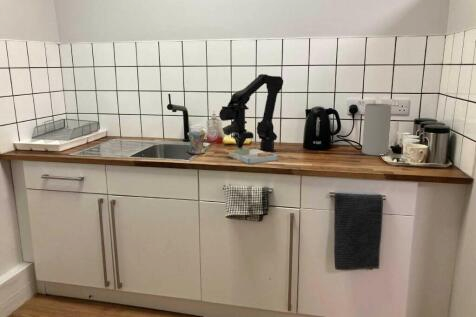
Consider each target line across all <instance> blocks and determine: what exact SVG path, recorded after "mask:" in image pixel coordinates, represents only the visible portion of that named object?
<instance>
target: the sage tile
mask: <svg viewBox="0 0 476 317" xmlns="http://www.w3.org/2000/svg"><path fill="white" fill-rule="evenodd" d="M250 150H251V149H250V148H248V147H246V146H244V147H243V146H242V147H241V148H237V147H236V148H235V151H236V153H237V154H240V155H243V154H250Z"/></svg>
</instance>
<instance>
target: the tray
mask: <svg viewBox="0 0 476 317" xmlns="http://www.w3.org/2000/svg"><path fill="white" fill-rule="evenodd" d="M267 153H270V154H272V156H266V157H257V158H246V157H244V156H241V155H239V160H238V161H240V162H242V163H245V164H247V165H254V164H261V163H269V162H275V161H278V158H279V155H278V154H275V153H272V152H267Z"/></svg>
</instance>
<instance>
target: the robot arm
mask: <svg viewBox="0 0 476 317" xmlns="http://www.w3.org/2000/svg"><path fill="white" fill-rule="evenodd" d="M264 84H265V87H266V91H267V95H266V96H267V97H266V102H265V106H264V111H263V115H262V119H261V121H258V122H257V126H256V128H255V130H256V134H257V136H258V139H259V140H260V144H259V145H260V146H259V149H258V150H261V151H264V152H270V153H272V152H275V151H276V149H275V141H277V139H278V135H277V134H276V133H275V132H274V124H273V116H274V113H275V107H276V102H277V98H278V94H279V93H280V92H281V90H282V89H283V85H284V79H283V78H282V76H281V75H279V76H277V75H268V74H266V73H264V74H263V73H260V74H259V75H258V76H257V77H256V78H255V79H254V80H253V81H251V82H250V83H249V84H247V86H245V87H244V88H243V89H241V90H237V91H236V92H234V93H233V94H232V95H231V97H230V100H229V102H228V103H227V106H225V105H224V106H221V109H220V110H219V113H218V116H219V119H220V120H221V121H222V122H223V121H224V122H225V121H227V122H228V121H231V122H230V123H231V124H228V125H226V126H224V127H223V128H222V131H223V134H224V135H226V136H230V135H231V134H232V135H231V138H233V139H234V142H235V145H236V148H241V147H243V145H244V144H245V142H246V140H248V139H250V140H251V139H254V133H253V132H252V131H248V129H246V124H247V123H248V122H247V120H246V111H247V110H249V107H248V106H247V103H248V102H249V101H250V98H251V96H253V95H254V94H255V93H256V91H258V90H259V89H260V88H261V87H262V86H264Z"/></svg>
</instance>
